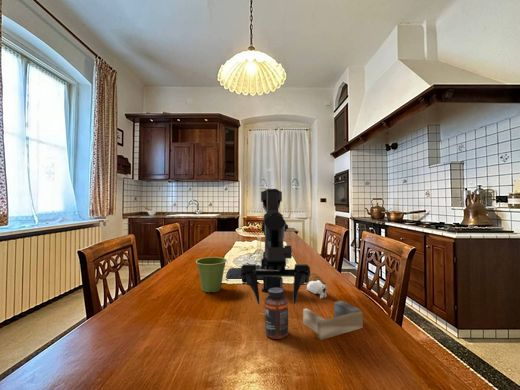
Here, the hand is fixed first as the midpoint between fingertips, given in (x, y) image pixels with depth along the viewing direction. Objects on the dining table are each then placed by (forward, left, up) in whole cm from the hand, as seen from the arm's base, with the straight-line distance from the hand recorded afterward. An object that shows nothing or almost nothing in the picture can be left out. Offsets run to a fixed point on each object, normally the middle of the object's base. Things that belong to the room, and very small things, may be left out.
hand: (276, 303), depth 69 cm
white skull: (0, +34, -8) cm, 35 cm away
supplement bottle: (0, 0, -8) cm, 8 cm away
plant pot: (-36, +20, -8) cm, 42 cm away
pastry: (-5, +47, -8) cm, 48 cm away
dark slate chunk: (-32, +43, -9) cm, 55 cm away
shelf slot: (+11, +11, -8) cm, 17 cm away
